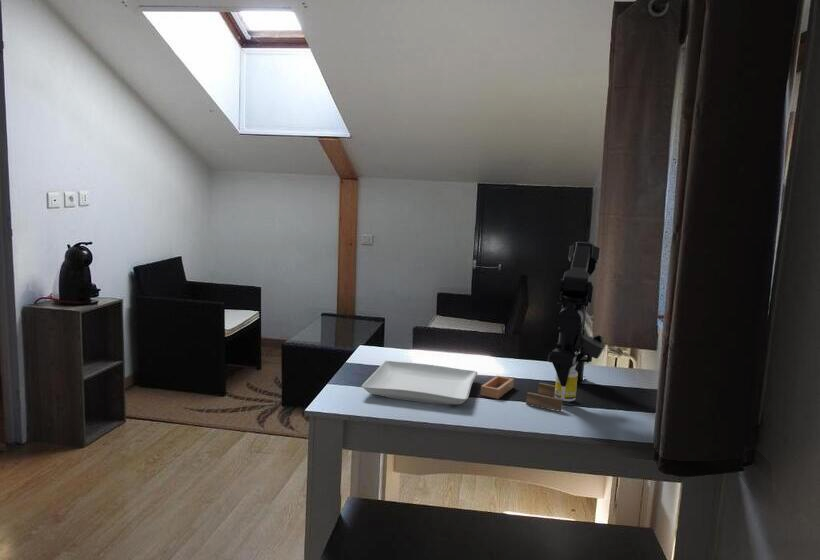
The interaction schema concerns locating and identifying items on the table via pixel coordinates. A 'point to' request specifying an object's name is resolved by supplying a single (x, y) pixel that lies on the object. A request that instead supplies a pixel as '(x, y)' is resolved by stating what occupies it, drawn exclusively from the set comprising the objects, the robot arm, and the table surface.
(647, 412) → the table surface
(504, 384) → the trap pit
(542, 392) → the walled lane
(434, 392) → the square plate
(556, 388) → the supplement bottle
